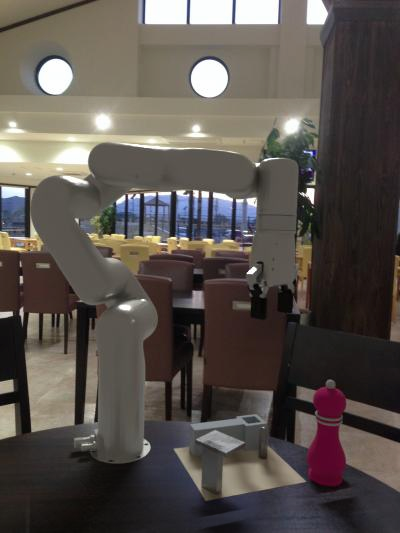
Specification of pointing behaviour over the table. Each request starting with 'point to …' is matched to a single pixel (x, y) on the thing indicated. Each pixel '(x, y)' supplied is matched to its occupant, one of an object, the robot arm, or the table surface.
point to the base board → (242, 472)
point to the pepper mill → (327, 437)
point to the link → (229, 431)
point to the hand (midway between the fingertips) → (272, 315)
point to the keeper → (216, 458)
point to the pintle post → (263, 442)
